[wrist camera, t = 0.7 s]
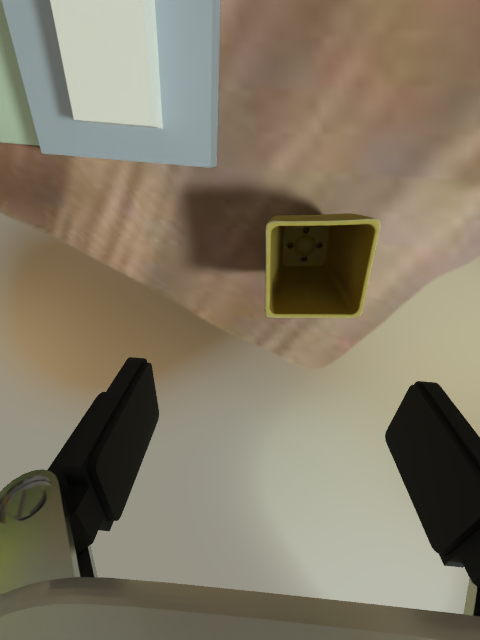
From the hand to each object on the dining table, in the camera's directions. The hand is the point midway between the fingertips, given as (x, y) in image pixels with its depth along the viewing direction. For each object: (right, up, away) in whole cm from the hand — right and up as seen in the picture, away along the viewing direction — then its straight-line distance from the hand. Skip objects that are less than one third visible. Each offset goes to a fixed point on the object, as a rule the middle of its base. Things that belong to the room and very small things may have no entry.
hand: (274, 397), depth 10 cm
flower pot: (+6, +12, +21) cm, 24 cm away
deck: (-11, +25, +14) cm, 30 cm away
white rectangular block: (-10, +23, +10) cm, 27 cm away
